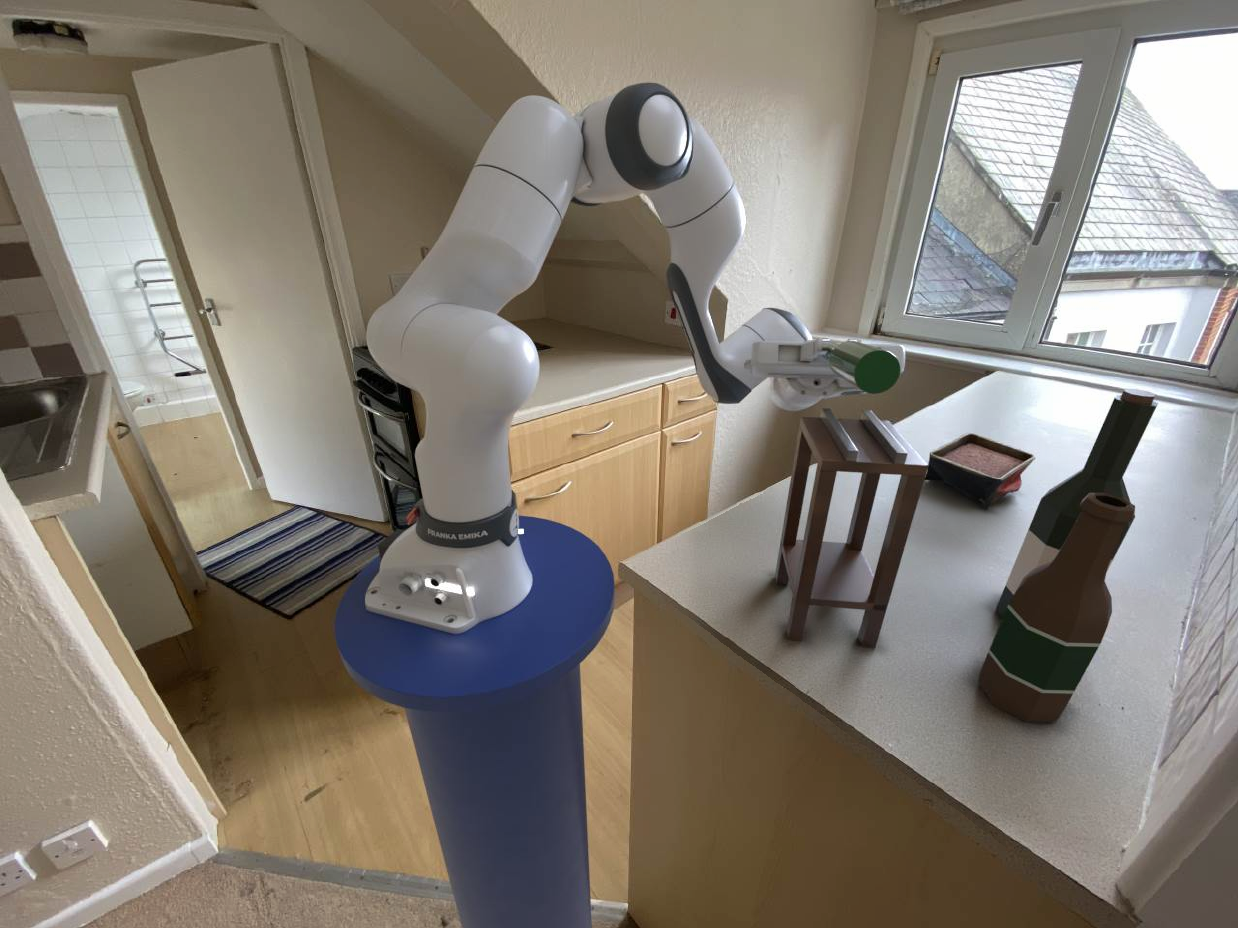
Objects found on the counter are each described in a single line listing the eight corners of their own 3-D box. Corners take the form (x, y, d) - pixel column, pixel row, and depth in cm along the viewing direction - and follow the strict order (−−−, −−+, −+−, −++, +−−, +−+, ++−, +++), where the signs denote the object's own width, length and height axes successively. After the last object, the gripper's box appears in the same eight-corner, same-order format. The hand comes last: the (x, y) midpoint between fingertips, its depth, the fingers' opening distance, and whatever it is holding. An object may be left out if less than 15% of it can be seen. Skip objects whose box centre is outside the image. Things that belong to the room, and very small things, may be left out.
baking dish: (1031, 503, 96) (1050, 450, 93) (985, 517, 86) (1004, 459, 83) (949, 477, 107) (964, 429, 104) (900, 487, 98) (915, 435, 95)
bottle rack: (788, 639, 63) (824, 449, 52) (774, 576, 74) (802, 407, 63) (875, 647, 62) (932, 454, 51) (848, 582, 73) (890, 410, 62)
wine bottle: (1068, 611, 68) (1179, 387, 54) (1083, 656, 61) (1214, 412, 48) (991, 591, 71) (1078, 376, 58) (998, 632, 64) (1097, 398, 51)
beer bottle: (1052, 679, 58) (1150, 488, 47) (1073, 738, 52) (1192, 533, 41) (970, 657, 61) (1045, 472, 50) (980, 710, 54) (1069, 511, 44)
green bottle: (892, 397, 53) (906, 354, 52) (848, 390, 54) (861, 346, 52) (842, 370, 71) (852, 337, 69) (809, 365, 71) (818, 332, 70)
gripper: (743, 348, 81) (756, 318, 68) (882, 352, 79) (925, 322, 65) (741, 388, 81) (754, 366, 67) (880, 394, 79) (923, 372, 65)
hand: (839, 344), depth 66 cm, fingers closed on green bottle, 2 cm apart
